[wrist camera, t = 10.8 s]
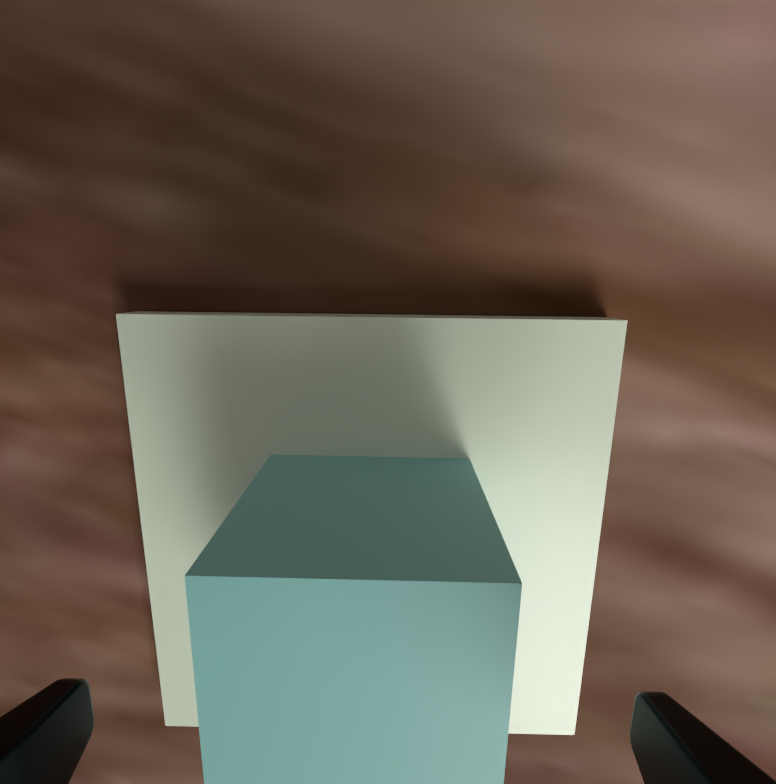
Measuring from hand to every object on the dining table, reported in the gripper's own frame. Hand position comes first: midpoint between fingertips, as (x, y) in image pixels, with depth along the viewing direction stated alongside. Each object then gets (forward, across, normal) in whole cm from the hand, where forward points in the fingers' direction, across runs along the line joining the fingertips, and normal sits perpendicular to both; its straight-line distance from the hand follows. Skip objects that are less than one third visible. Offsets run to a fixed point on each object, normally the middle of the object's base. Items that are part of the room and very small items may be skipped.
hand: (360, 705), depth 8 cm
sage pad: (+6, 0, 0) cm, 6 cm away
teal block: (+5, 0, 0) cm, 5 cm away
